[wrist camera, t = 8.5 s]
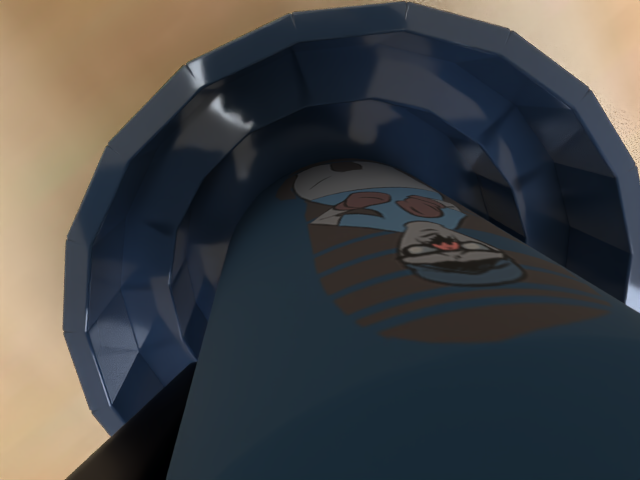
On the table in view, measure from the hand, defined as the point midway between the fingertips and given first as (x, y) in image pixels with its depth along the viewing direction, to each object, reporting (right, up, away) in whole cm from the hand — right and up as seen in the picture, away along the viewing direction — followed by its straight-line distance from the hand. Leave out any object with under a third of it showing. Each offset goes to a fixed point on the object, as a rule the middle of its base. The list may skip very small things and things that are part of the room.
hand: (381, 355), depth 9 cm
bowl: (-1, +2, +5) cm, 6 cm away
